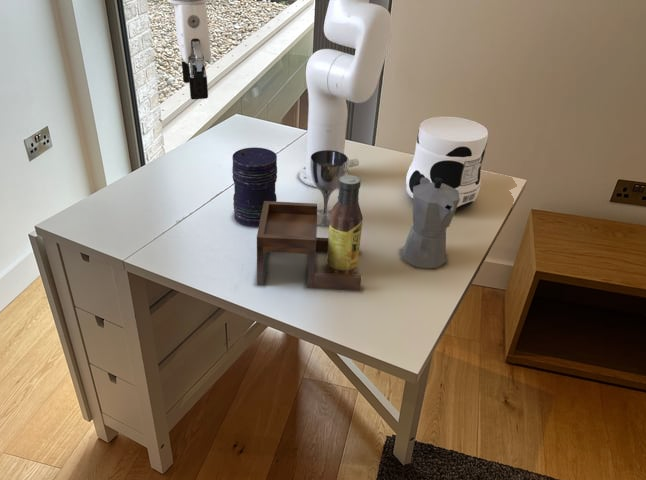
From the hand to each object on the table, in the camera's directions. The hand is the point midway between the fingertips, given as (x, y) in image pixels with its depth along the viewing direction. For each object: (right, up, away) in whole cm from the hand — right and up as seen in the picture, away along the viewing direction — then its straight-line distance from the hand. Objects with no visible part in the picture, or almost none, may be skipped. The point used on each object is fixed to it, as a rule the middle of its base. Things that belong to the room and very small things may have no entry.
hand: (195, 89), depth 112 cm
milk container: (+56, -16, +32) cm, 66 cm away
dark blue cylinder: (+11, -22, +24) cm, 34 cm away
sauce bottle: (+29, -34, +7) cm, 45 cm away
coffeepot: (+46, -31, +12) cm, 57 cm away
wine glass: (+27, -22, +24) cm, 42 cm away
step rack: (+22, -34, +7) cm, 41 cm away
